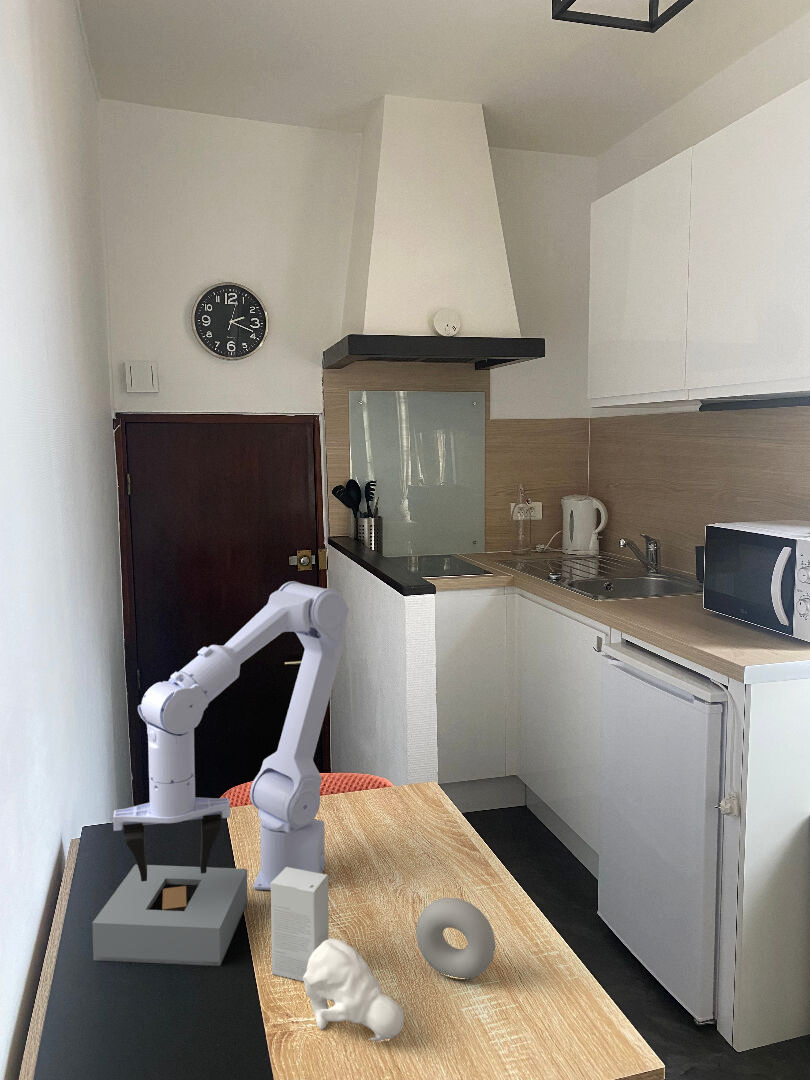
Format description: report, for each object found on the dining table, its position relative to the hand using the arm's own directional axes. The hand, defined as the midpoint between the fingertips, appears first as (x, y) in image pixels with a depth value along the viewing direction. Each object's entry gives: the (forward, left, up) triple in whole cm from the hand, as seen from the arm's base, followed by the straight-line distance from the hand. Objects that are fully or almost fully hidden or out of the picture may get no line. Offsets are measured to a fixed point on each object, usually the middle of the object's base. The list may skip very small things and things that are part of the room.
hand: (174, 873), depth 106 cm
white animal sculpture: (-26, +16, -8) cm, 32 cm away
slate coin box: (0, 0, -8) cm, 8 cm away
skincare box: (-18, +7, -8) cm, 21 cm away
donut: (-37, +7, -8) cm, 39 cm away
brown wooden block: (0, 0, -7) cm, 7 cm away
